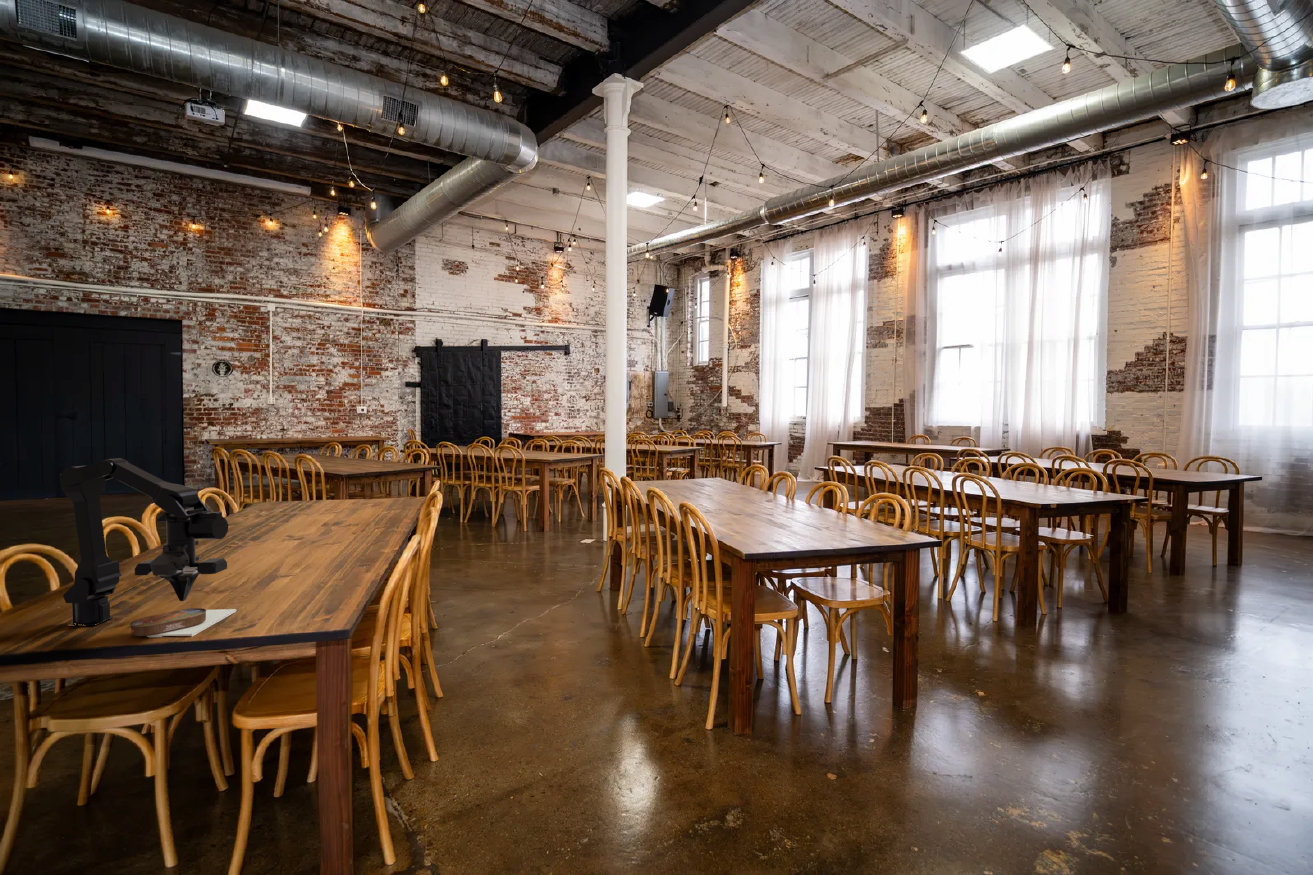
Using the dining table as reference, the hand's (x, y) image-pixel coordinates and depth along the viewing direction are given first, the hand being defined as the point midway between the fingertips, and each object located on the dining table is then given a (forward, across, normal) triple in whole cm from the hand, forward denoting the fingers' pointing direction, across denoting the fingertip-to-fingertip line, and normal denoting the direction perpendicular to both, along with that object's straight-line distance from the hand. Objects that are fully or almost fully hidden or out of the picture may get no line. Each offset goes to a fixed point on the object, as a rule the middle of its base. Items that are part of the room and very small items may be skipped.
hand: (182, 600), depth 162 cm
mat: (+6, +2, 0) cm, 7 cm away
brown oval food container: (+4, -4, 0) cm, 6 cm away
